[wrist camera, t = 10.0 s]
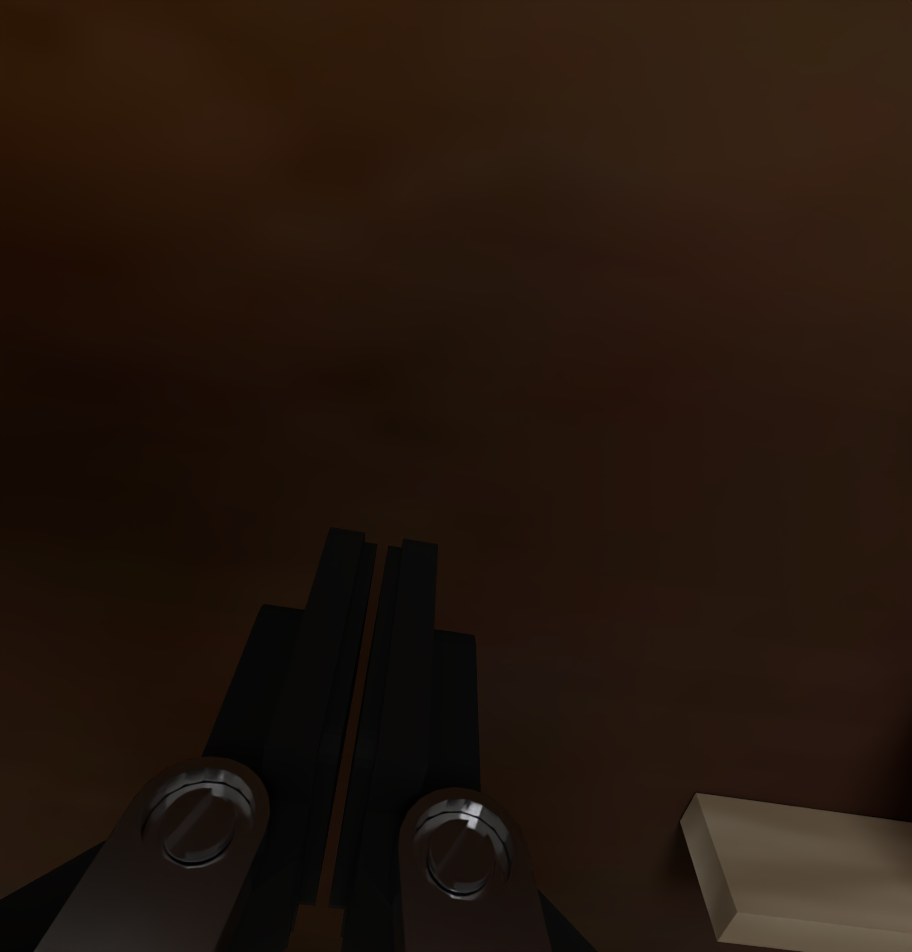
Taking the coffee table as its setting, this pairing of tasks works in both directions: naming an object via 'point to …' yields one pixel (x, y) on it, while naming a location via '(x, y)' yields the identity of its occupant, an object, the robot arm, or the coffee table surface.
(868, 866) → the corral
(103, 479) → the coffee table surface
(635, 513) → the coffee table surface
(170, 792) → the robot arm
